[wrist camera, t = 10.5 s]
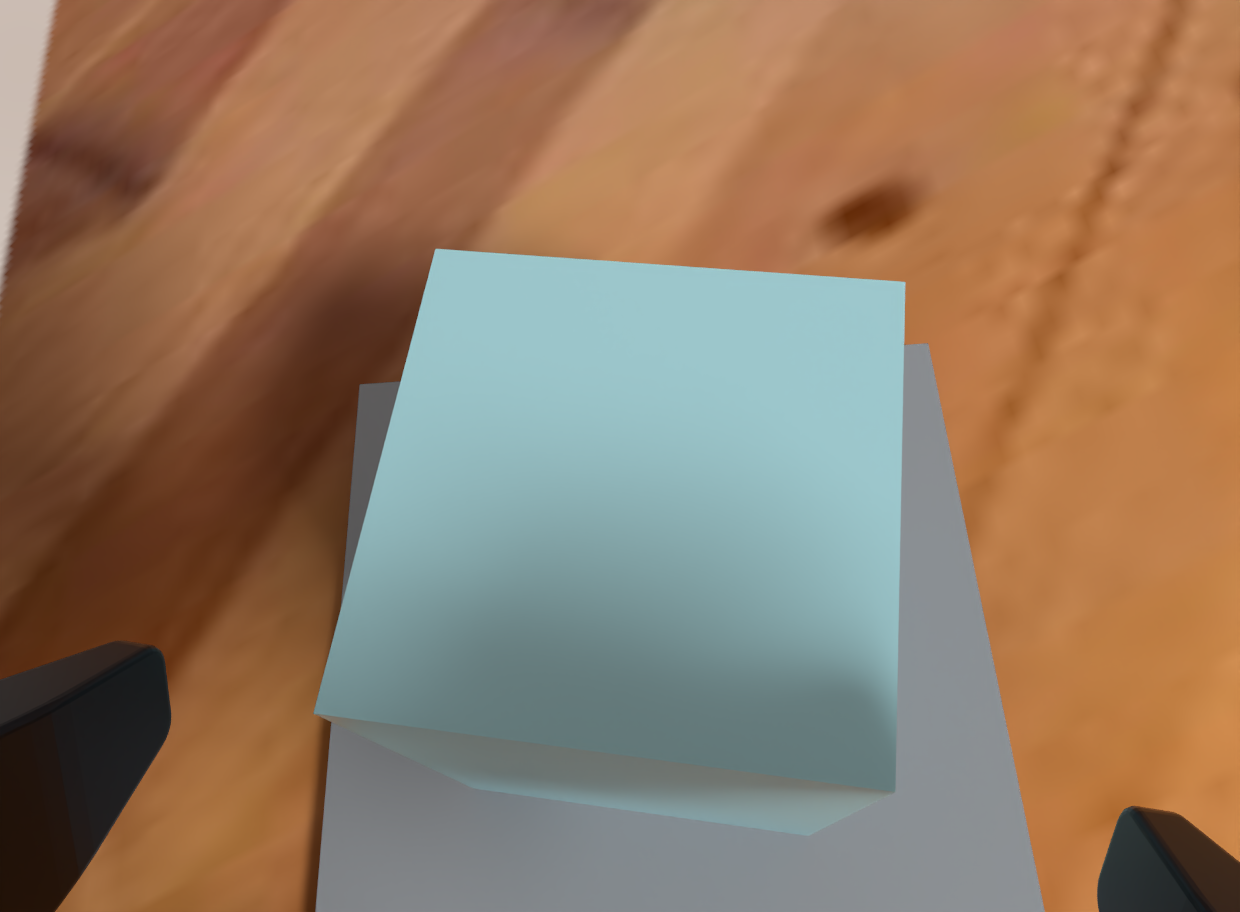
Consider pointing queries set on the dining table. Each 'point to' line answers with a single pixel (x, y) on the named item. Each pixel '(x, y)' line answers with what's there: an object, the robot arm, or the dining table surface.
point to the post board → (706, 851)
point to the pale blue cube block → (637, 541)
